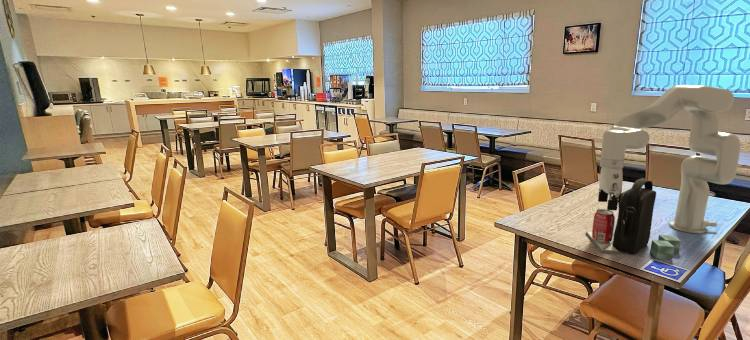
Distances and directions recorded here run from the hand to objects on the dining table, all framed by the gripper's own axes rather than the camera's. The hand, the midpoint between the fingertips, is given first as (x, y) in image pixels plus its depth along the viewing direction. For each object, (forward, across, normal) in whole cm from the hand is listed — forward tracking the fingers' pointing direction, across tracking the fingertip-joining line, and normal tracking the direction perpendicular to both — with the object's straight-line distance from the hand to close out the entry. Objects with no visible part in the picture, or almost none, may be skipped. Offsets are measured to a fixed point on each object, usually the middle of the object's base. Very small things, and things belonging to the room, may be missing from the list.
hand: (607, 205), depth 148 cm
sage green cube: (+16, -8, -16) cm, 25 cm away
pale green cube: (+16, -2, -22) cm, 27 cm away
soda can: (+15, 0, +1) cm, 15 cm away
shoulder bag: (+16, -3, -8) cm, 19 cm away
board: (+16, 0, +1) cm, 16 cm away
